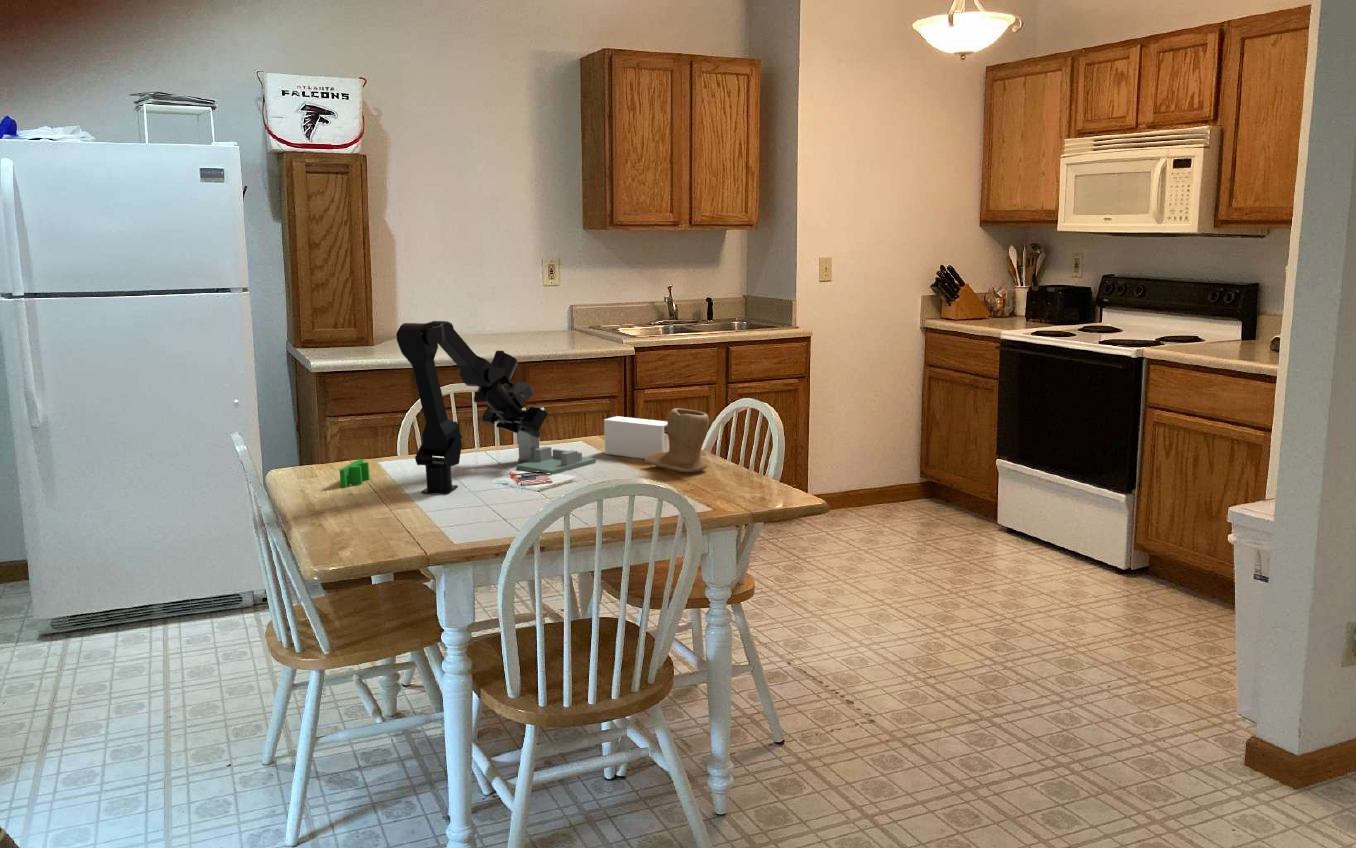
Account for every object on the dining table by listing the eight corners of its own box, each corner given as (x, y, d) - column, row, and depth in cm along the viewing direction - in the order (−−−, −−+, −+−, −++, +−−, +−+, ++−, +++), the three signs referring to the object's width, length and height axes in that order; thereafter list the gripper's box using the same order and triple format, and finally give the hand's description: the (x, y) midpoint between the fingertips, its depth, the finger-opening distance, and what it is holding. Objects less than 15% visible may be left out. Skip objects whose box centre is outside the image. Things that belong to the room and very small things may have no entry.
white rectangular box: (675, 458, 280) (674, 422, 279) (662, 462, 276) (661, 425, 274) (614, 450, 292) (613, 415, 290) (601, 454, 287) (599, 419, 286)
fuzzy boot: (720, 470, 266) (719, 409, 263) (682, 478, 258) (680, 415, 255) (680, 460, 277) (679, 402, 274) (643, 468, 270) (641, 408, 267)
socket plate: (551, 474, 265) (550, 458, 264) (516, 469, 272) (515, 453, 271) (595, 462, 277) (595, 447, 276) (561, 457, 284) (560, 442, 283)
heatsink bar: (531, 463, 277) (529, 413, 275) (518, 461, 280) (515, 411, 278) (541, 461, 280) (538, 411, 278) (527, 459, 283) (525, 409, 281)
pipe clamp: (356, 489, 256) (354, 469, 255) (341, 489, 256) (339, 469, 256) (374, 477, 267) (373, 459, 266) (360, 477, 267) (358, 459, 266)
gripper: (540, 375, 267) (573, 413, 278) (488, 370, 278) (521, 407, 289) (519, 412, 262) (553, 449, 273) (466, 405, 274) (501, 441, 284)
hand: (532, 435), depth 280 cm, fingers closed on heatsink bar, 4 cm apart
